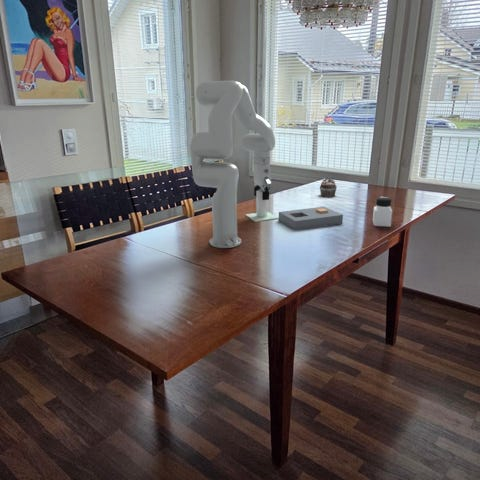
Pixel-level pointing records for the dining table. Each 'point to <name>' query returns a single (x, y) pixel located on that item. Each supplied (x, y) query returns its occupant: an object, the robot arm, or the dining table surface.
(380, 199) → the medicine bottle
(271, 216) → the mat
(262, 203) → the cylinder
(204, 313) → the dining table surface
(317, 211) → the tan cube
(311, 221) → the housing
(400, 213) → the dining table surface
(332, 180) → the cupcake
